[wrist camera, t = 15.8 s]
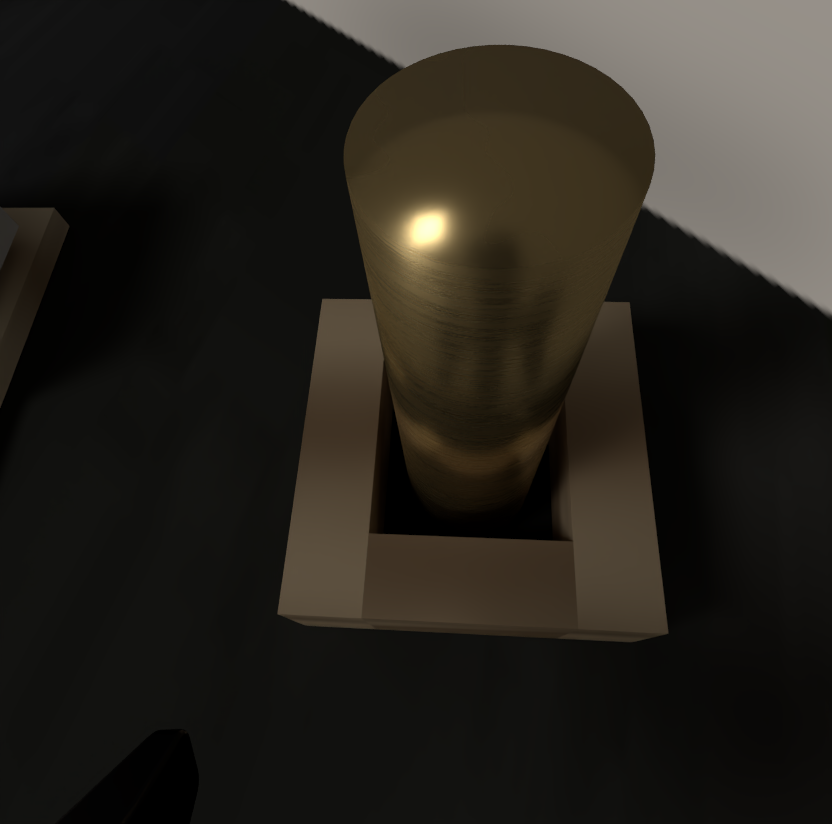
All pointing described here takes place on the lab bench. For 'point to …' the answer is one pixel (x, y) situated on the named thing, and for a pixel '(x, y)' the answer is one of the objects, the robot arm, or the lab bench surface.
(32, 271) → the plate
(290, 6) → the lab bench surface
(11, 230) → the cover
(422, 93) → the brass pin
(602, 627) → the socket block
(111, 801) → the robot arm
